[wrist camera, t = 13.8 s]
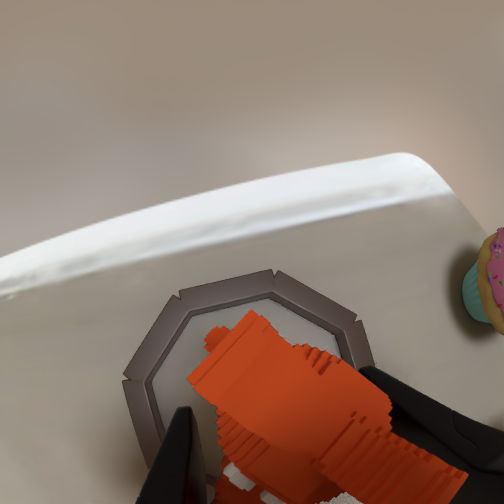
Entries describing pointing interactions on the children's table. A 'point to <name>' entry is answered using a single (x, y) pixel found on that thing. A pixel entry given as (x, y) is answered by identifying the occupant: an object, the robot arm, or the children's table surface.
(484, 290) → the cupcake
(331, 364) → the toy animal
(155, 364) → the hoop
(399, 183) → the children's table surface
